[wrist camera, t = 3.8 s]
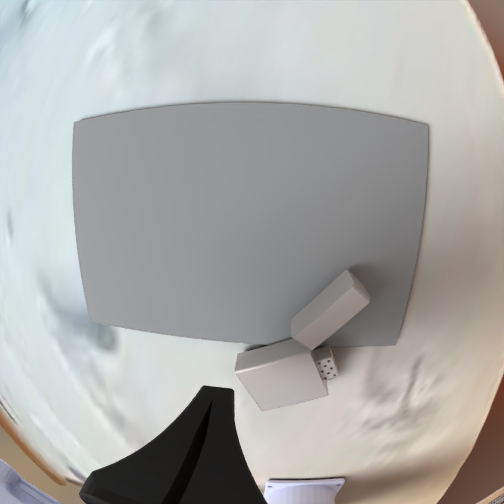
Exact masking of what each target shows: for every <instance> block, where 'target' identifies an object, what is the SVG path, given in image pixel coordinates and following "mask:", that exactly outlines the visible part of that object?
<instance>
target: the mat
mask: <svg viewBox="0 0 504 504" xmlns="http://www.w3.org/2000/svg"><path fill="white" fill-rule="evenodd" d="M427 164H428V125H426V124H422V123H418V122H413V121H409V120H405V119H400V118H395V117H390V116H385V115H380V114H374V113H368V112H362V111H355V110H348V109H341V108H332V107H323V106H313V105H300V104H284V103H249V102H240V103H205V104H189V105H176V106H166V107H157V108H149V109H141V110H134V111H127V112H121V113H115V114H110V115H104V116H99V117H94V118H90V119H85V120H81V121H76V122H74V127H73V148H72V186H73V208H74V222H75V233H76V242H77V250H78V258H79V265H80V272H81V278H82V284H83V289H84V294H85V299H86V304H87V309H88V314H89V318H90V321H91V322H96V323H100V324H105V325H111V326H116V327H121V328H127V329H133V330H139V331H145V332H151V333H158V334H165V335H172V336H179V337H187V338H195V339H204V340H214V341H224V342H236V343H249V344H264V345H272V344H276V343H279V342H282V341H286V340H289V339H292V337H291V320H292V318H293V317H294V316H295V315H296V314H297V313H299V312H300V311H301V310H302V309H303V308H304V307H305V306H307V305H308V304H309V303H310V302H311V301H312V300H313V299H314V298H316V297H317V296H318V295H319V294H320V293H321V292H322V291H323V290H324V289H325V288H326V287H328V286H329V285H330V284H331V283H332V282H333V281H334V280H335V279H336V278H337V277H338V276H339V275H340V274H341V273H343V272H344V271H345V270H349V271H350V272H351V273H352V274H353V275H354V276H355V277H356V278H357V279H358V280H359V281H360V282H361V283H362V284H363V285H364V287H365V288H366V290H367V292H368V294H369V296H370V298H371V300H370V302H369V303H368V304H367V305H366V306H365V307H364V308H363V309H362V310H361V311H359V312H358V313H357V314H356V315H355V316H354V317H352V318H351V319H350V320H349V321H348V322H347V323H345V324H344V325H343V326H342V327H341V328H339V329H338V330H337V331H336V332H335V333H333V334H332V335H331V336H330V337H328V338H327V339H326V340H325V341H323V342H322V343H321V344H320V345H318V346H317V347H325V346H328V345H330V347H356V346H388V345H396V342H397V339H398V336H399V332H400V329H401V325H402V322H403V318H404V314H405V311H406V307H407V303H408V298H409V294H410V290H411V285H412V281H413V276H414V271H415V266H416V261H417V255H418V249H419V243H420V237H421V230H422V222H423V214H424V205H425V195H426V182H427Z"/></svg>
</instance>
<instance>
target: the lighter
mask: <svg viewBox="0 0 504 504" xmlns="http://www.w3.org/2000/svg"><path fill="white" fill-rule="evenodd" d="M370 300H371V298H370V296H369V294H368V292H367V290H366V288H365V287H364V285H363V284H362V283H361V282H360V281H359V280H358V279H357V278H356V277H355V276H354V275H353V274H352V273H351V272H350V271H349V270H345V271H344V272H343V273H341V274H340V275H339V276H338V277H337V278H336V279H335V280H334V281H333V282H332V283H331V284H330V285H329V286H328V287H326V288H325V289H324V290H323V291H322V292H321V293H320V294H319V295H318V296H317V297H316V298H314V299H313V300H312V301H311V302H310V303H309V304H308V305H307V306H305V307H304V308H303V309H302V310H301V311H300V312H299V313H297V314H296V315H295V316H294V317H293V318H292V320H291V337H292V339H289V340H286V341H282V342H279V343H276V344H272V345H269V346H265V347H261V348H258V349H254V350H251V351H247V352H243V353H239V354H238V355H237V361H236V366H235V373H236V375H237V377H238V378H239V380H240V381H241V382H242V384H243V385H244V387H245V388H246V390H247V391H248V393H249V394H250V395H251V397H252V398H253V400H254V401H255V403H256V404H257V405H258V407H259V408H260V409H261V411H266V410H271V409H276V408H280V407H285V406H289V405H294V404H298V403H302V402H306V401H310V400H314V399H317V398H321V397H324V396H328V388H327V382H326V380H327V379H333V378H335V377H337V376H339V375H338V370H337V365H336V362H335V359H334V356H333V353H332V351H331V348H330V345H328V346H325V347H322V348H319V349H315V350H314V348H316V347H317V346H318V345H320V344H321V343H322V342H323V341H325V340H326V339H327V338H328V337H330V336H331V335H332V334H333V333H335V332H336V331H337V330H338V329H339V328H341V327H342V326H343V325H344V324H345V323H347V322H348V321H349V320H350V319H351V318H352V317H354V316H355V315H356V314H357V313H358V312H359V311H361V310H362V309H363V308H364V307H365V306H366V305H367V304H368V303H369V302H370Z"/></svg>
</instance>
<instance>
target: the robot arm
mask: <svg viewBox="0 0 504 504" xmlns="http://www.w3.org/2000/svg"><path fill="white" fill-rule="evenodd" d="M234 417H235V413H234V390H233V389H230V388H221V387H212V386H205V385H204V386H202V387H201V389H200V390H199V392H198V393H197V395H196V396H195V397H194V399H193V400H192V401H191V402H190V404H189V405H188V406H187V407H186V408H185V410H184V411H183V412H182V413H181V414H180V415H179V416H178V417H177V418H176V419H175V420H174V421H173V422H172V423H171V424H170V425H169V426H168V427H167V428H166V429H165V430H164V431H163V432H162V433H161V434H159V435H158V436H157V437H156V438H154V439H153V440H152V441H151V442H149V443H148V444H146V445H145V446H144V447H142V448H141V449H139V450H138V451H136V452H134V453H133V454H131V455H129V456H127V457H125V458H123V459H121V460H119V461H118V462H115V463H113V464H111V465H108V466H106V467H103V468H101V469H98V470H95V471H93V472H92V473H91V474H90V476H89V477H88V478H87V480H86V481H85V483H84V485H83V487H82V489H81V491H80V493H79V495H80V497H81V499H82V500H83V501H84V502H85V503H86V504H335V496H336V495H337V493H338V492H339V490H340V489H341V487H342V486H343V484H344V483H345V479H344V478H338V479H325V480H297V481H286V480H268V481H267V482H266V485H265V491H264V497H263V495H262V493H261V492H260V490H259V488H258V486H257V484H256V482H255V480H254V478H253V476H252V474H251V472H250V470H249V468H248V465H247V463H246V460H245V458H244V455H243V452H242V449H241V446H240V443H239V439H238V435H237V431H236V426H235V420H234ZM0 504H63V503H61V502H59V501H58V500H56V499H54V498H53V497H51V496H49V495H48V494H46V493H44V492H43V491H41V490H40V489H38V488H37V487H35V486H33V485H32V484H30V483H29V482H28V481H26V480H25V479H23V478H22V477H20V475H19V474H18V473H17V472H16V471H15V470H14V469H13V468H12V467H11V466H10V465H8V464H7V463H6V462H5V461H3V460H2V459H1V458H0Z"/></svg>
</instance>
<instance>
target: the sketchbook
mask: <svg viewBox="0 0 504 504" xmlns="http://www.w3.org/2000/svg"><path fill="white" fill-rule="evenodd" d="M503 503H504V494H502V495H501V496H499V497H497V498H496V499H495V500H493V501H492V502H490V503H488V504H503Z"/></svg>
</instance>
